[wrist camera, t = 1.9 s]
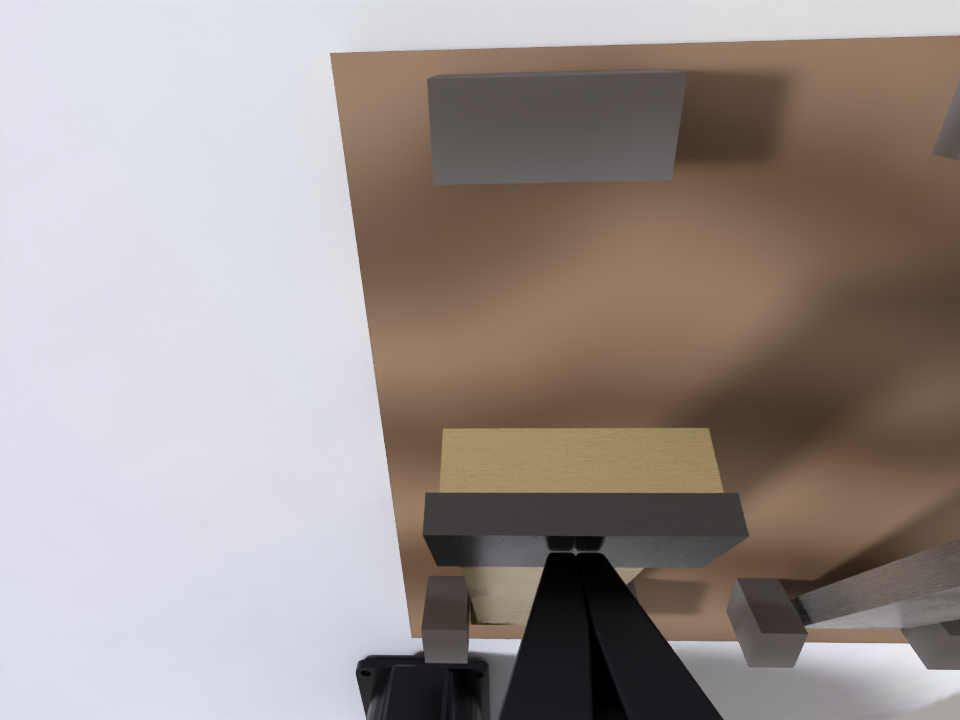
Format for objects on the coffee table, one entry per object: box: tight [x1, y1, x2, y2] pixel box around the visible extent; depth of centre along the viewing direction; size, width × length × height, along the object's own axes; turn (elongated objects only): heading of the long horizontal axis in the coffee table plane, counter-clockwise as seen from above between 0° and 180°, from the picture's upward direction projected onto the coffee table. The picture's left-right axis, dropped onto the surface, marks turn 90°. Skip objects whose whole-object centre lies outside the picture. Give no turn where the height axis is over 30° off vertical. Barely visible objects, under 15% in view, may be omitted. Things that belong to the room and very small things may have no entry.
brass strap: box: [423, 428, 749, 625], centre depth 14 cm, size 16×5×2 cm, turn 0°
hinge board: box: [330, 36, 960, 670], centre depth 17 cm, size 22×22×4 cm
